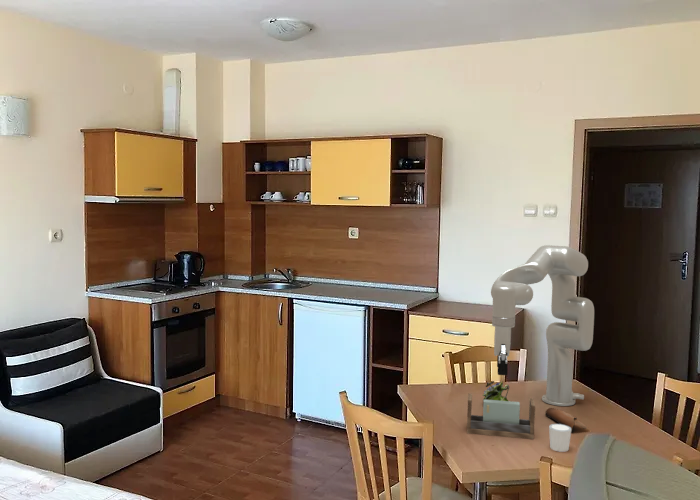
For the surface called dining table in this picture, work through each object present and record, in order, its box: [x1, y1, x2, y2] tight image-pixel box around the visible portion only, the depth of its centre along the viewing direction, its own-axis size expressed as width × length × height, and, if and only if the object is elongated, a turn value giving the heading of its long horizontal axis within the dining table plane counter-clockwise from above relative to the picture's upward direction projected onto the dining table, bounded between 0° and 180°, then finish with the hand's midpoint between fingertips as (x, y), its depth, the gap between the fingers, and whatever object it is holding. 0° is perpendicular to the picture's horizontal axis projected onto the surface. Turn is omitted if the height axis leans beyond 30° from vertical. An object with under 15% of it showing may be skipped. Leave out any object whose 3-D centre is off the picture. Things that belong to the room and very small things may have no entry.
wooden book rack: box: [466, 392, 536, 440], centre depth 216 cm, size 22×8×12 cm, turn 78°
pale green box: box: [482, 399, 521, 424], centre depth 215 cm, size 12×4×9 cm, turn 78°
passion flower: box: [482, 380, 510, 402], centre depth 244 cm, size 11×11×12 cm
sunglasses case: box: [544, 407, 593, 434], centre depth 225 cm, size 18×7×7 cm
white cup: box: [548, 423, 572, 453], centre depth 202 cm, size 7×7×7 cm
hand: (502, 370), depth 215 cm, fingers open, 9 cm apart
